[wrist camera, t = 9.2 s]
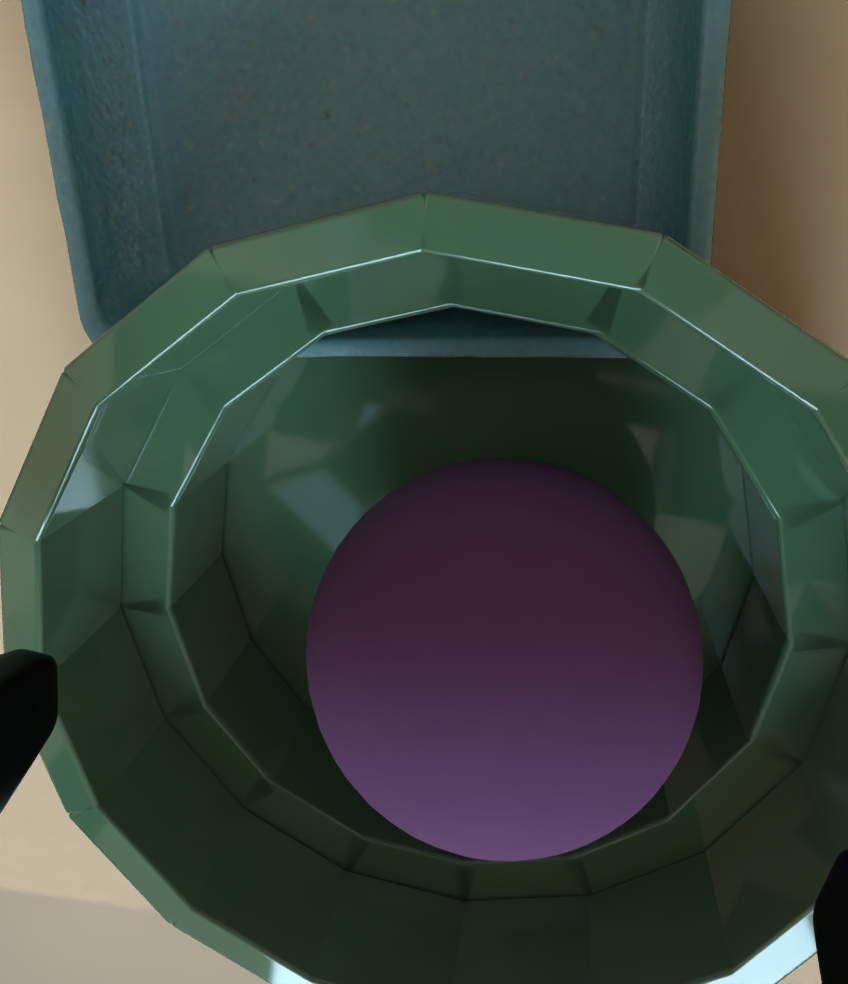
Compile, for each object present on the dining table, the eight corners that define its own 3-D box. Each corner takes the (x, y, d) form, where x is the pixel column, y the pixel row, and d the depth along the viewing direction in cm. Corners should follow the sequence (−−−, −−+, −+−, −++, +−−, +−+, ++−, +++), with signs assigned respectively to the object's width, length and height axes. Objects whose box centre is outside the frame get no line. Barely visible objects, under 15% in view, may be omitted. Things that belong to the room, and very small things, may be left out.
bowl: (709, 869, 16) (768, 1133, 12) (157, 732, 18) (14, 925, 13) (947, 275, 12) (1193, 327, 7) (183, 140, 13) (-24, 111, 8)
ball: (582, 699, 16) (702, 966, 10) (297, 677, 15) (273, 956, 10) (660, 431, 13) (858, 600, 8) (332, 388, 13) (326, 546, 7)
